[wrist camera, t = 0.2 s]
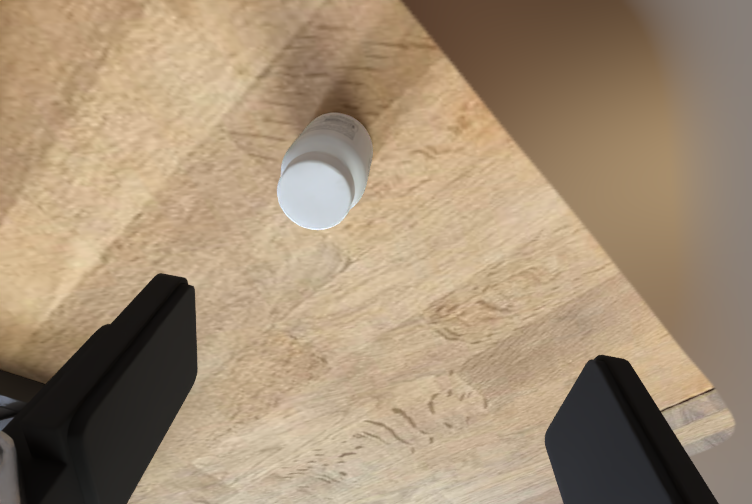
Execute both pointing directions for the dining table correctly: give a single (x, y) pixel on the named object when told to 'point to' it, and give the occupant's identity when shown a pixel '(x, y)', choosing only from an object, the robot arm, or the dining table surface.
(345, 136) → the pill bottle
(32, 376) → the dining table surface
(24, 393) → the picture frame
